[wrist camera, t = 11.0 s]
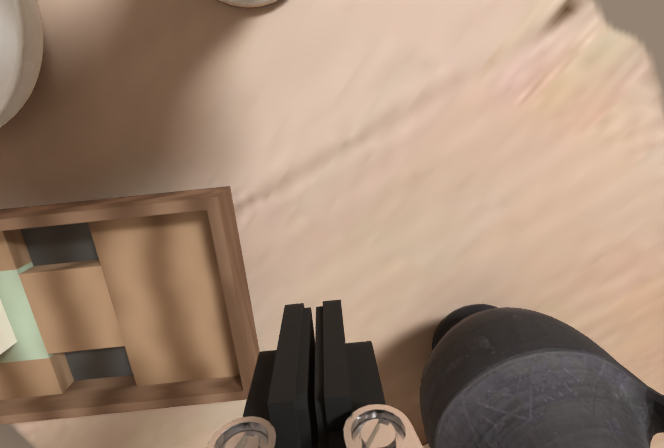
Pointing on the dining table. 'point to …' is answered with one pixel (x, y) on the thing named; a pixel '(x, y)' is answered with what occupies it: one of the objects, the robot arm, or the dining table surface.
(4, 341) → the block
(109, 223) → the trap box
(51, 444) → the dining table surface
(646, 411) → the pitcher
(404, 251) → the dining table surface
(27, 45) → the serving bowl
